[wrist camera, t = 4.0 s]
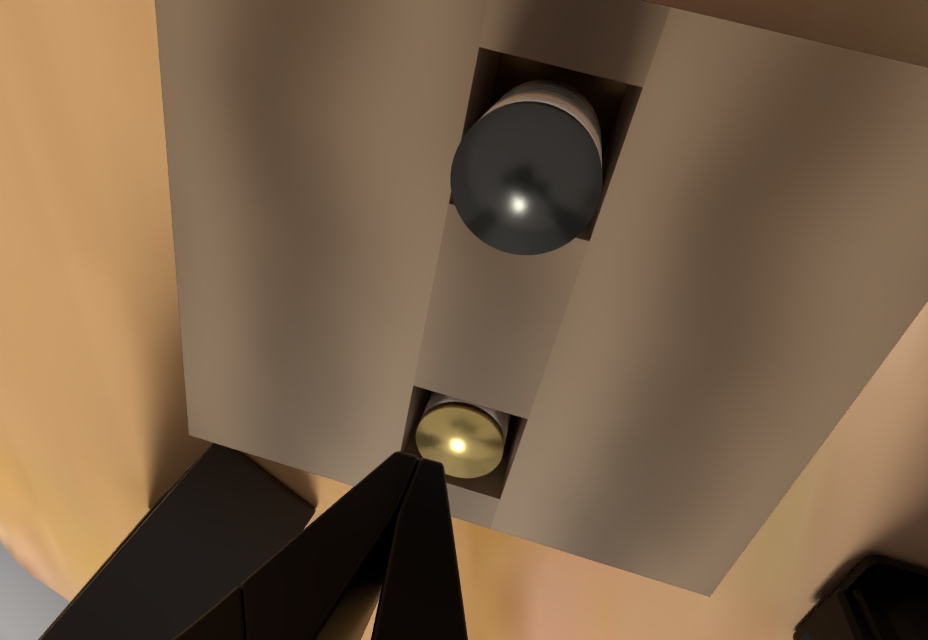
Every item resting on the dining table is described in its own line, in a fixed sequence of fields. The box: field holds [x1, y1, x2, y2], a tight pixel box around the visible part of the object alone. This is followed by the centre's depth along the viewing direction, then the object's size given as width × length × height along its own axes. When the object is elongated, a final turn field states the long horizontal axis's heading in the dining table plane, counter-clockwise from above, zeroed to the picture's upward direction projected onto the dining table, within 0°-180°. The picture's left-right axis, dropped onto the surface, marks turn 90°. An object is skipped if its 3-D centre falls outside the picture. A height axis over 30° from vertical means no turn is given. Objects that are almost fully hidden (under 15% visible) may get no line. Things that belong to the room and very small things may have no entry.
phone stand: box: [38, 443, 315, 640], centre depth 25 cm, size 9×6×12 cm, turn 137°
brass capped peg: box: [416, 391, 511, 478], centre depth 20 cm, size 3×3×4 cm
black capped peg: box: [450, 80, 602, 255], centre depth 13 cm, size 3×3×4 cm
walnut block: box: [155, 0, 928, 597], centre depth 18 cm, size 20×17×4 cm
